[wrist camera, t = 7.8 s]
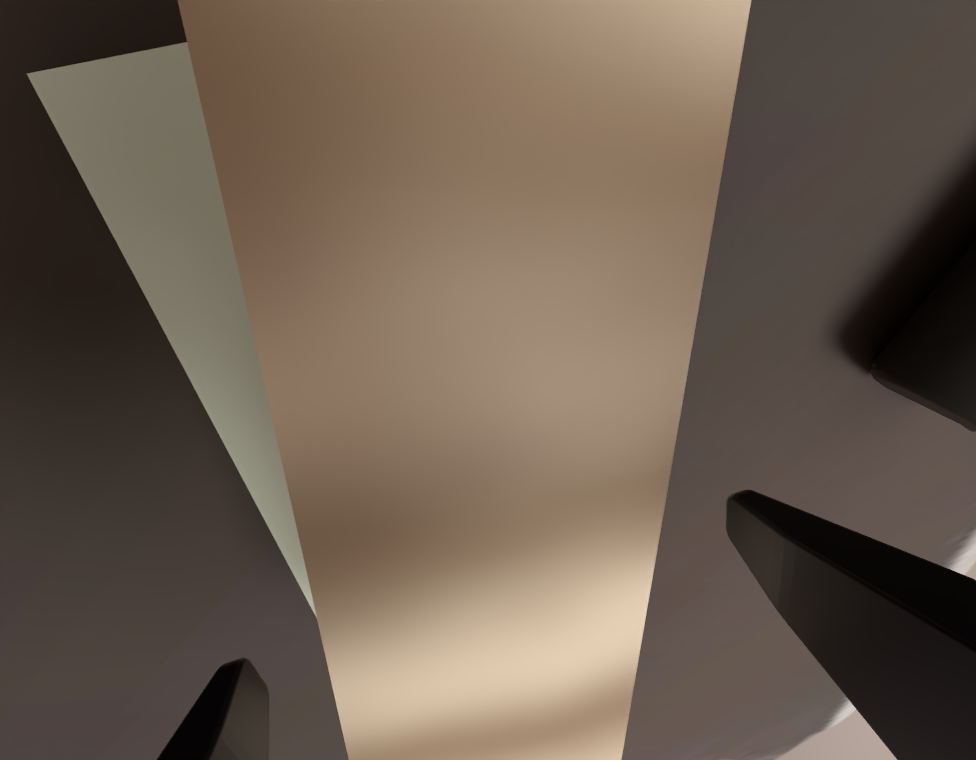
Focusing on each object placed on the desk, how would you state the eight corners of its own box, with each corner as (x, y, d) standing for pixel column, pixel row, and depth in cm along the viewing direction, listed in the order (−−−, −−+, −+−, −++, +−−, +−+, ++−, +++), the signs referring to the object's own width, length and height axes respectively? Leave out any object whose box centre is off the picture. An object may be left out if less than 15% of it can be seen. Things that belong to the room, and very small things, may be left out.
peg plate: (49, 77, 12) (-172, 42, 7) (594, -31, 14) (738, -125, 9) (329, 619, 22) (321, 774, 17) (637, 517, 23) (720, 629, 18)
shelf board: (579, 670, 17) (619, 766, 15) (364, 720, 16) (366, 838, 13) (643, 18, 9) (755, -25, 7) (226, 6, 8) (165, -54, 5)
